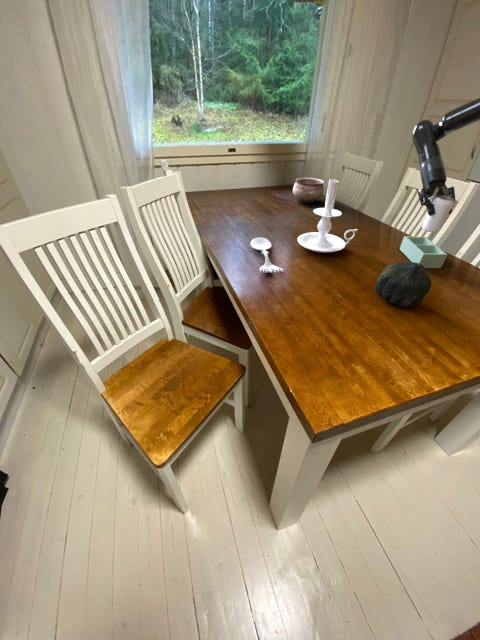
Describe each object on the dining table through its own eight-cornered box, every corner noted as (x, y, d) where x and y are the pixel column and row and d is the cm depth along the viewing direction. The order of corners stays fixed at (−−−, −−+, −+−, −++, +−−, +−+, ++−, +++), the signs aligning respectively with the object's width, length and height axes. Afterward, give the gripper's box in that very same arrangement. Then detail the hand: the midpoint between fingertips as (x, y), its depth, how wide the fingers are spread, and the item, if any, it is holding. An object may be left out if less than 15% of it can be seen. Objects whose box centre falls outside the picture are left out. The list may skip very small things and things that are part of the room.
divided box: (420, 249, 121) (425, 236, 117) (440, 268, 107) (447, 254, 104) (399, 248, 121) (404, 236, 117) (417, 267, 108) (423, 254, 104)
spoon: (259, 278, 99) (259, 270, 97) (249, 242, 124) (249, 235, 122) (283, 278, 100) (284, 269, 98) (268, 242, 125) (269, 235, 123)
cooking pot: (287, 196, 185) (290, 176, 177) (315, 196, 186) (318, 176, 178) (296, 207, 165) (299, 185, 158) (326, 207, 167) (331, 185, 159)
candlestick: (360, 258, 113) (383, 185, 95) (300, 258, 113) (313, 184, 95) (344, 239, 129) (362, 173, 111) (292, 238, 129) (302, 172, 111)
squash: (382, 266, 96) (391, 247, 82) (429, 279, 91) (447, 261, 77) (367, 303, 95) (373, 289, 81) (413, 318, 90) (429, 306, 76)
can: (439, 233, 105) (455, 201, 97) (420, 230, 107) (435, 198, 100) (439, 228, 109) (455, 197, 101) (421, 225, 111) (436, 194, 104)
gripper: (424, 167, 100) (432, 210, 98) (457, 166, 102) (466, 208, 101) (408, 179, 107) (416, 220, 106) (440, 178, 109) (448, 218, 108)
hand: (440, 214), depth 103 cm, fingers closed on can, 6 cm apart
